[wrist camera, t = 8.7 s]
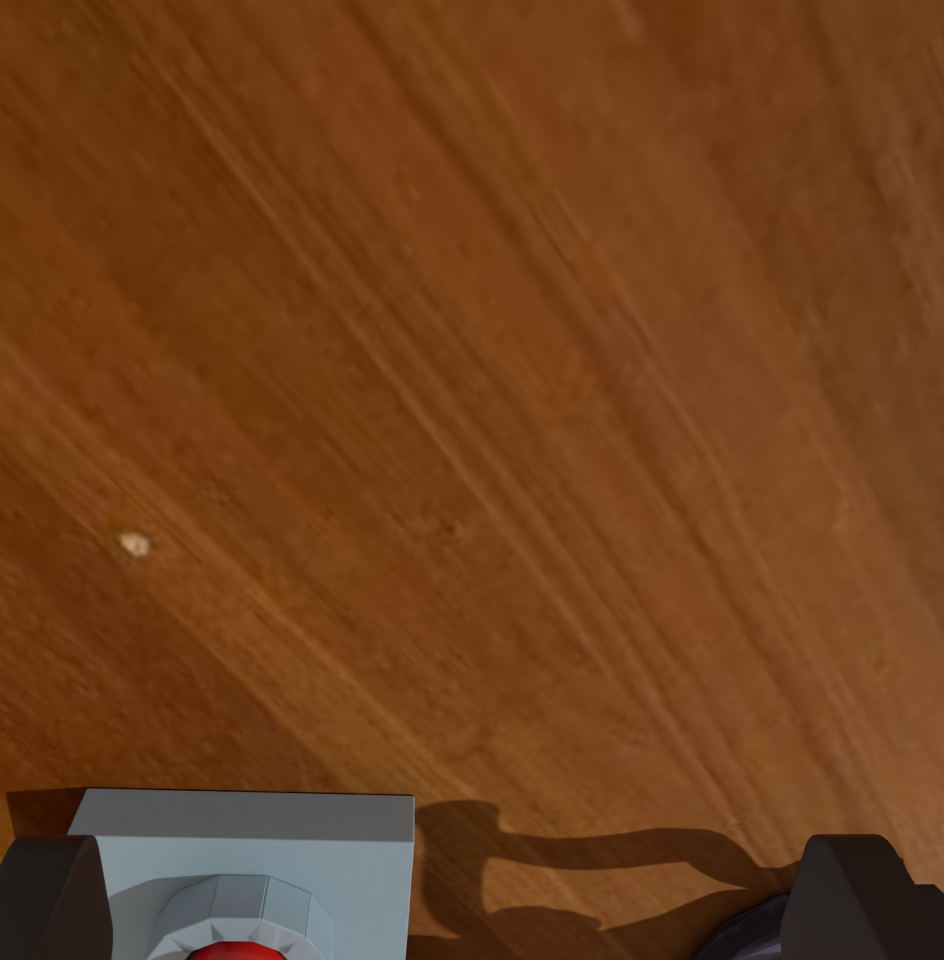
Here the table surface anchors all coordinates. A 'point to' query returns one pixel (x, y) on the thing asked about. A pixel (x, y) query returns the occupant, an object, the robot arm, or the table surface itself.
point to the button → (237, 951)
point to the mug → (749, 934)
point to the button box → (253, 871)
